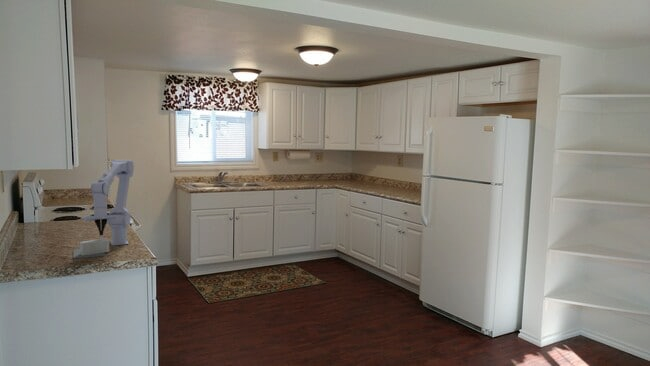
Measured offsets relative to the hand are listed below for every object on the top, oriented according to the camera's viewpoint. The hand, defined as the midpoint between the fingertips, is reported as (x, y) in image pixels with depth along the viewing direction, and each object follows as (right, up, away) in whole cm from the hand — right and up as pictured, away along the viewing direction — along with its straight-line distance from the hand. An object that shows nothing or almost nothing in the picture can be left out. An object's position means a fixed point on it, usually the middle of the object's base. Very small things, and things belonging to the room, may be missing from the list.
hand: (101, 234), depth 223 cm
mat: (-5, -9, -2) cm, 10 cm away
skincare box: (+3, -5, +1) cm, 6 cm away
